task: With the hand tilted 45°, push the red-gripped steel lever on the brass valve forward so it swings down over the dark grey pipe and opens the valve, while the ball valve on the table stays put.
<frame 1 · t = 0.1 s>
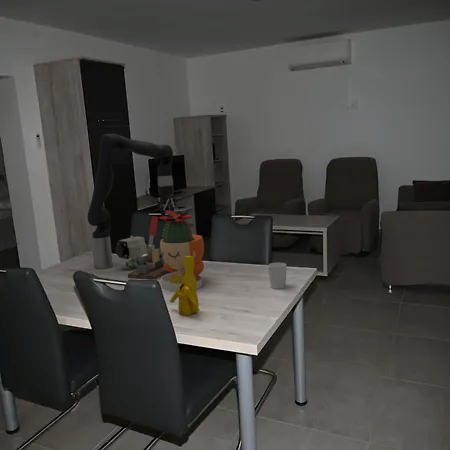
hand: (167, 216, 228), 29 cm above the table, tool pointing down, fingers open, 8 cm apart
potted cactus: (184, 283, 211), on the table
valve lever: (152, 232, 232), point 21 cm above the table, hinge at -25.0°
white cup: (278, 287, 199), on the table
valve stand base: (152, 273, 232), on the table
figure statuette: (188, 313, 173), on the table
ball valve: (135, 267, 247), on the table
valve pipe: (151, 257, 231), on the valve stand base, point 8 cm above the table
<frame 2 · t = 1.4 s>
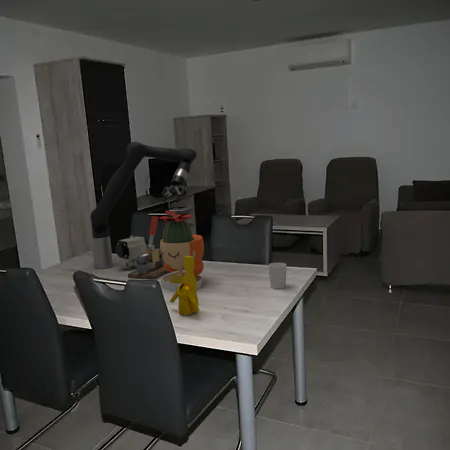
hand: (170, 201, 246), 35 cm above the table, tool tilted 45°, fingers open, 8 cm apart
nothing on the table moved.
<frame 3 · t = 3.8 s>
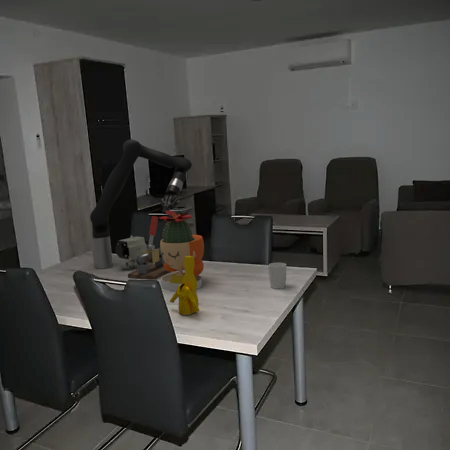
hand: (164, 213, 242), 29 cm above the table, tool tilted 45°, fingers closed
nothing on the table moved.
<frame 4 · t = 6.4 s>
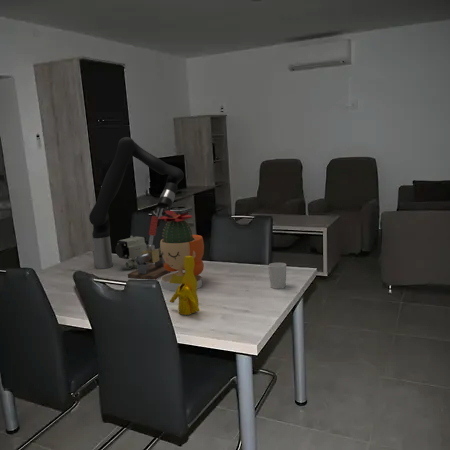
hand: (155, 226, 234), 24 cm above the table, tool tilted 45°, fingers closed
valve lever: (152, 232, 232), point 21 cm above the table, hinge at -24.8°, touching gripper
everything else where it was.
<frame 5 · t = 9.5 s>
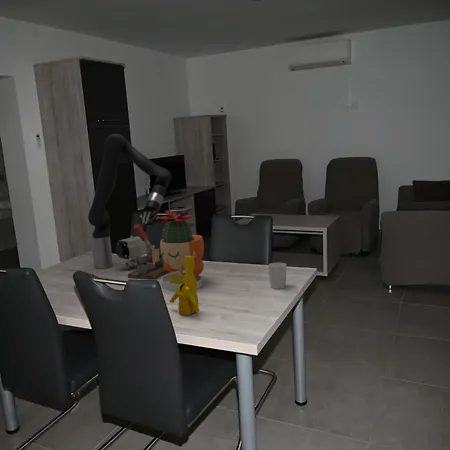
hand: (142, 231, 224), 23 cm above the table, tool tilted 45°, fingers closed
valve lever: (143, 237, 225), point 20 cm above the table, hinge at 38.0°
everything else where it was.
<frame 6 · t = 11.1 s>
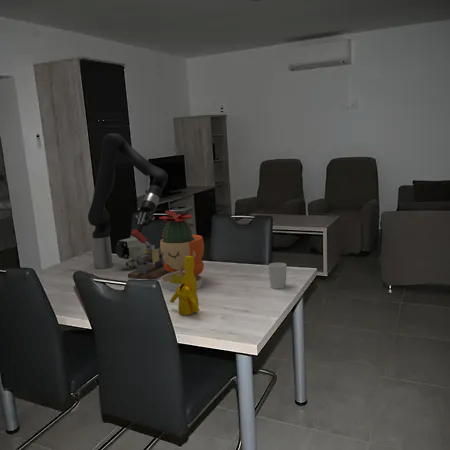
hand: (137, 232, 220), 24 cm above the table, tool tilted 45°, fingers closed
valve lever: (142, 239, 224), point 19 cm above the table, hinge at 49.9°, touching gripper
everything else where it was.
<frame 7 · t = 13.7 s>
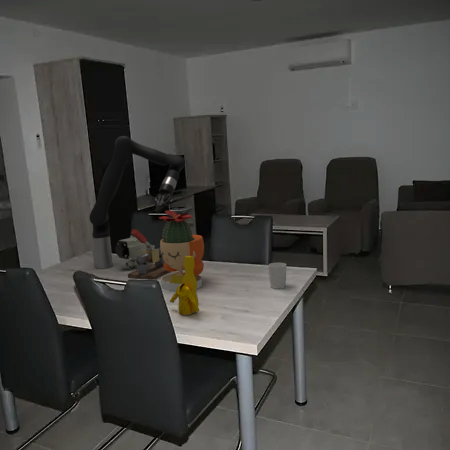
hand: (157, 212, 236), 31 cm above the table, tool tilted 45°, fingers closed
valve lever: (142, 239, 224), point 19 cm above the table, hinge at 49.9°
everything else where it was.
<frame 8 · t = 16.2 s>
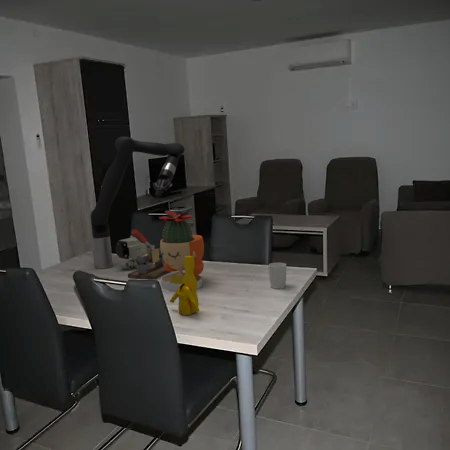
hand: (157, 196, 245), 38 cm above the table, tool tilted 45°, fingers closed
nothing on the table moved.
at the end: valve lever at +50° (first picture: -25°); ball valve moved 0.2 cm from its start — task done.
